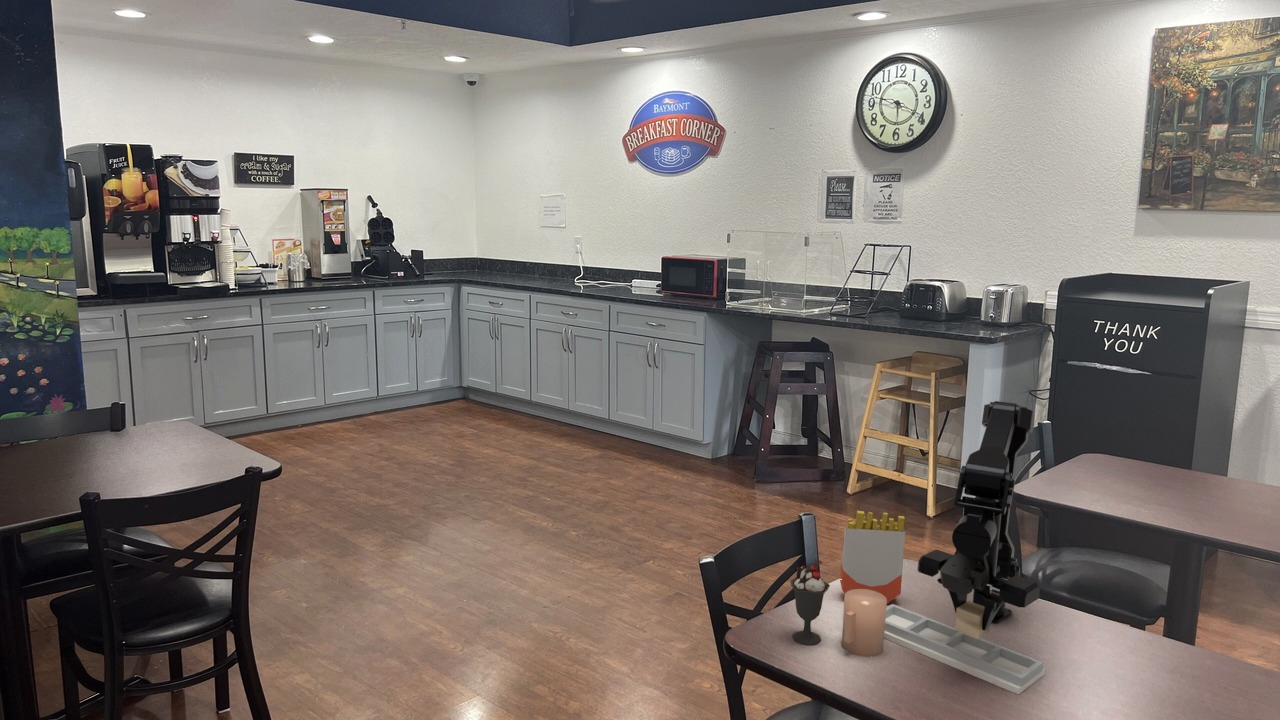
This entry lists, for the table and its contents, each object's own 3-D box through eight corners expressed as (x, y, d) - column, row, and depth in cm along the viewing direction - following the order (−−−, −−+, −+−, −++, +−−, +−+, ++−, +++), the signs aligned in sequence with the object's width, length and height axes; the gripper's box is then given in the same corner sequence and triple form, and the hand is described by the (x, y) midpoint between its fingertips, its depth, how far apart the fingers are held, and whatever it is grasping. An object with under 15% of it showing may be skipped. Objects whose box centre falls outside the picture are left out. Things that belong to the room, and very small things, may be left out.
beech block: (966, 623, 156) (968, 601, 155) (989, 631, 153) (991, 609, 152) (954, 630, 153) (956, 607, 152) (977, 639, 150) (979, 616, 149)
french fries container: (839, 592, 179) (844, 504, 176) (895, 595, 178) (902, 507, 174) (841, 602, 174) (847, 512, 171) (899, 606, 173) (906, 515, 170)
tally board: (893, 615, 169) (894, 602, 169) (1043, 675, 149) (1045, 660, 149) (865, 630, 163) (866, 617, 163) (1018, 694, 143) (1019, 679, 143)
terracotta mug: (856, 632, 162) (860, 585, 161) (891, 647, 157) (894, 598, 156) (828, 648, 157) (831, 598, 155) (863, 663, 152) (866, 613, 150)
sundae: (826, 649, 156) (831, 566, 153) (786, 645, 157) (790, 563, 155) (826, 631, 163) (831, 552, 160) (788, 627, 164) (792, 548, 161)
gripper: (903, 532, 151) (896, 620, 154) (1012, 567, 138) (1003, 662, 141) (938, 516, 159) (931, 601, 162) (1045, 548, 145) (1036, 639, 148)
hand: (972, 625), depth 153 cm, fingers closed on beech block, 4 cm apart
